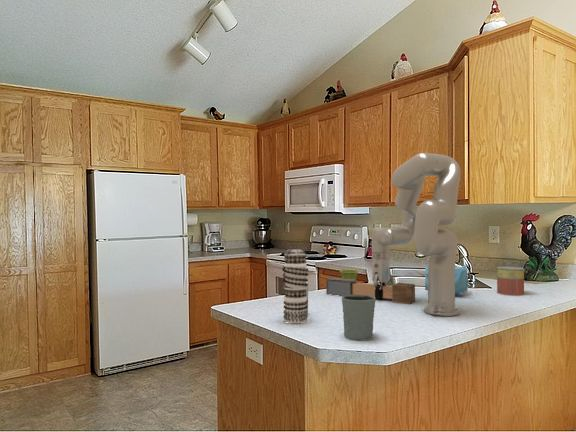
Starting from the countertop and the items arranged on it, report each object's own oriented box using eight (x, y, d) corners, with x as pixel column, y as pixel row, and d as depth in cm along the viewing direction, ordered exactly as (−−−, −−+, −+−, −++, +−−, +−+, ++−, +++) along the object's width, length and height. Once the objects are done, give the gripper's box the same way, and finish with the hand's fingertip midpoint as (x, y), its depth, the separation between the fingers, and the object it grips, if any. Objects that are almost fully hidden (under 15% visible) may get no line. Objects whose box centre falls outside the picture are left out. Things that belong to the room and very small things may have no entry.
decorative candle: (279, 323, 144) (278, 250, 144) (286, 317, 153) (286, 248, 153) (305, 325, 142) (304, 251, 141) (311, 318, 150) (310, 248, 150)
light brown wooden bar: (400, 300, 178) (400, 288, 178) (344, 293, 192) (344, 282, 192) (403, 298, 181) (403, 286, 181) (348, 292, 195) (348, 281, 195)
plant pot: (362, 287, 213) (362, 270, 213) (351, 290, 206) (351, 272, 206) (346, 285, 219) (346, 269, 219) (336, 288, 212) (335, 271, 212)
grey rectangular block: (350, 297, 189) (350, 281, 189) (326, 294, 195) (326, 279, 195) (356, 294, 195) (356, 279, 194) (333, 292, 201) (333, 277, 201)
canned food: (505, 290, 204) (505, 265, 204) (529, 294, 194) (529, 268, 194) (492, 293, 198) (491, 267, 197) (516, 296, 188) (516, 270, 188)
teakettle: (424, 297, 188) (424, 264, 188) (426, 290, 206) (426, 260, 206) (470, 300, 182) (470, 266, 181) (468, 292, 199) (468, 261, 199)
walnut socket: (410, 304, 174) (410, 286, 174) (392, 302, 178) (392, 285, 178) (415, 301, 180) (415, 284, 180) (397, 299, 184) (397, 282, 184)
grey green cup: (336, 337, 127) (336, 298, 127) (349, 329, 136) (349, 292, 136) (368, 343, 122) (368, 301, 122) (380, 334, 130) (380, 295, 130)
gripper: (381, 258, 175) (382, 301, 175) (395, 254, 189) (395, 295, 189) (365, 257, 179) (365, 299, 180) (379, 253, 193) (379, 293, 194)
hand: (380, 297), depth 184 cm, fingers closed on light brown wooden bar, 4 cm apart
